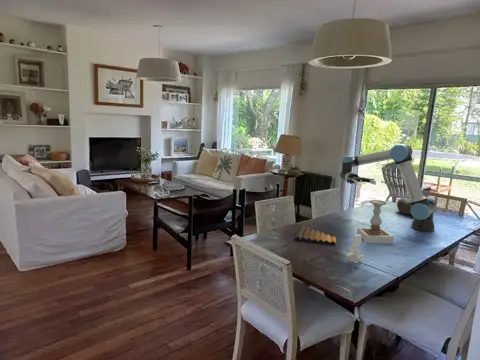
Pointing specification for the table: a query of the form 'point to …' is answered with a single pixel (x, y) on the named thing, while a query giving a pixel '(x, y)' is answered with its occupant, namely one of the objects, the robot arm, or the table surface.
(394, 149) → the robot arm
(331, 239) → the pan flute
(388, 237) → the rimmed tray
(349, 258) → the figurine
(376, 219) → the candle holder
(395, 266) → the table surface
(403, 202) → the gourd
